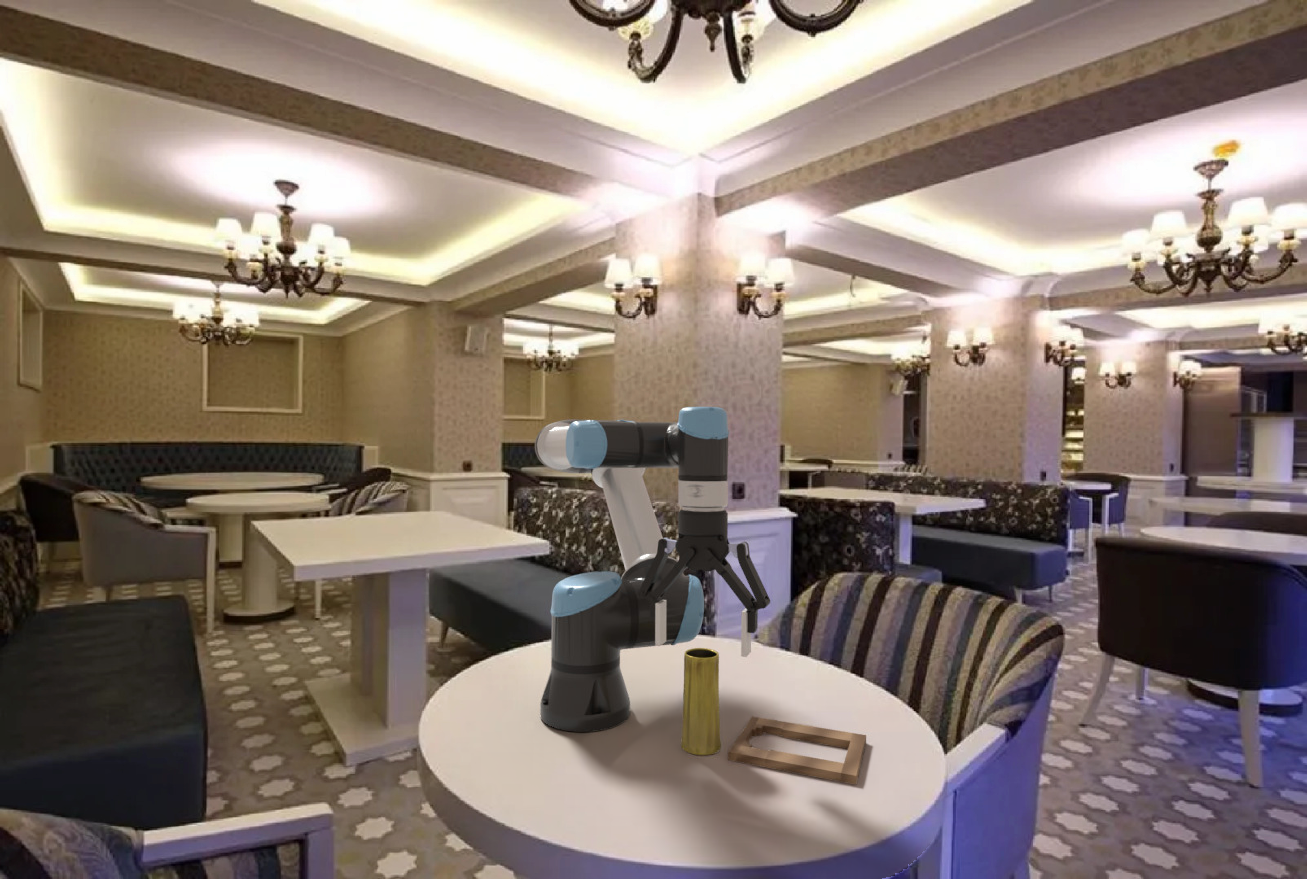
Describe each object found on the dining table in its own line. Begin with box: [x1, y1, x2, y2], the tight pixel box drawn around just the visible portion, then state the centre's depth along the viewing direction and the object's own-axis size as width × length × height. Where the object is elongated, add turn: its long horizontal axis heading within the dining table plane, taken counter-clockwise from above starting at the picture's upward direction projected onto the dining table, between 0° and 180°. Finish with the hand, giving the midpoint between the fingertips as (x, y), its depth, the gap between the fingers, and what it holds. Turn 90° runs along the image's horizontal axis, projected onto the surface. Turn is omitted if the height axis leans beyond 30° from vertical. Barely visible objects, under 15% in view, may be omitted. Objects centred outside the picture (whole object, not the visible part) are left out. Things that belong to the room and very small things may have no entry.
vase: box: [680, 647, 722, 756], centre depth 103 cm, size 6×6×14 cm
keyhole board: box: [727, 716, 867, 786], centre depth 102 cm, size 18×14×1 cm
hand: (702, 648), depth 103 cm, fingers open, 13 cm apart
